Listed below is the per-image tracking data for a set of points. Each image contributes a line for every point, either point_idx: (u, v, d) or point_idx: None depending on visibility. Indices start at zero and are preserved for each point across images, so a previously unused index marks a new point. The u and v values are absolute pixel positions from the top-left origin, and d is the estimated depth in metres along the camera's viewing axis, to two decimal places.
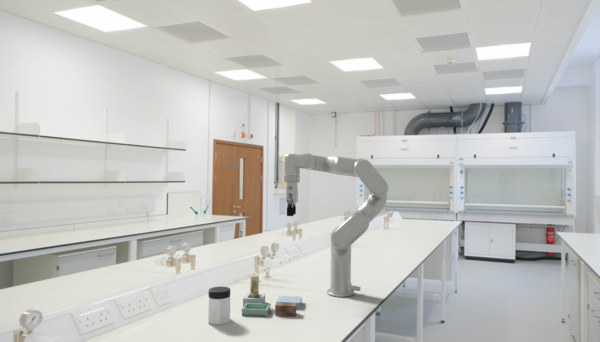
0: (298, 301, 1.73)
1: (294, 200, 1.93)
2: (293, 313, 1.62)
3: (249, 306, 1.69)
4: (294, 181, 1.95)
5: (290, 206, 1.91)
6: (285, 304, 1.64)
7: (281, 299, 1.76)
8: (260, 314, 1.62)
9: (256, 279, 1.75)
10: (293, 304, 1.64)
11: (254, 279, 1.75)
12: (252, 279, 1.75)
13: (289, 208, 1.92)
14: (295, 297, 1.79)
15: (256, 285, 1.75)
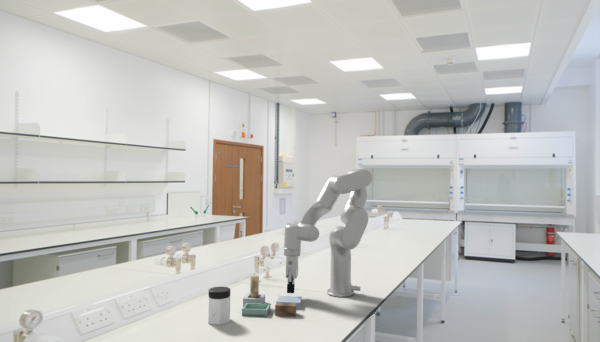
0: (298, 301, 1.73)
1: (294, 276, 1.82)
2: (293, 313, 1.62)
3: (249, 306, 1.69)
4: (294, 255, 1.84)
5: (291, 283, 1.85)
6: (285, 304, 1.64)
7: (281, 299, 1.76)
8: (260, 314, 1.62)
9: (256, 279, 1.75)
10: (293, 304, 1.64)
11: (254, 279, 1.75)
12: (252, 279, 1.75)
13: (290, 285, 1.85)
14: (295, 297, 1.79)
15: (256, 285, 1.75)
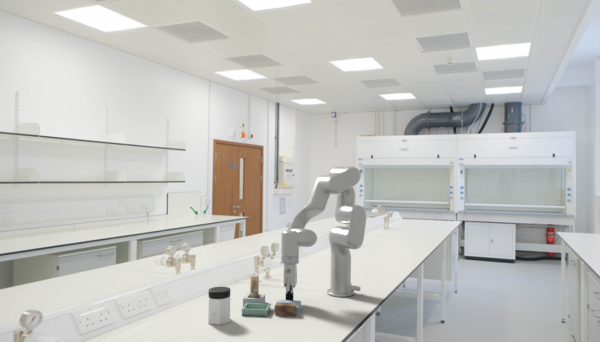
0: (297, 305, 1.68)
1: (293, 285, 1.72)
2: (293, 313, 1.62)
3: (249, 306, 1.69)
4: (293, 263, 1.74)
5: (289, 292, 1.75)
6: (285, 304, 1.64)
7: None
8: (260, 314, 1.62)
9: (256, 279, 1.75)
10: (293, 304, 1.64)
11: (254, 279, 1.75)
12: (252, 279, 1.75)
13: (288, 294, 1.75)
14: (294, 301, 1.74)
15: (256, 285, 1.75)
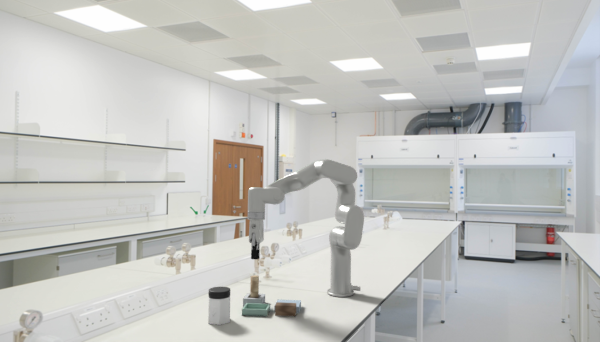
0: (297, 305, 1.68)
1: (258, 240, 1.72)
2: (293, 313, 1.62)
3: (249, 306, 1.69)
4: (258, 218, 1.74)
5: (255, 248, 1.75)
6: (285, 304, 1.64)
7: None
8: (260, 314, 1.62)
9: (256, 279, 1.75)
10: (293, 304, 1.64)
11: (254, 279, 1.75)
12: (252, 279, 1.75)
13: (254, 251, 1.75)
14: (294, 300, 1.74)
15: (256, 285, 1.75)
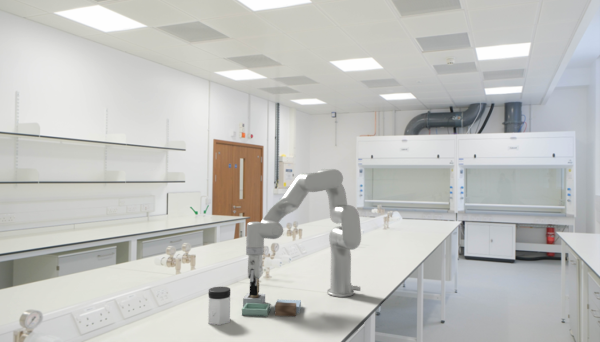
0: (297, 305, 1.68)
1: (256, 276, 1.72)
2: (293, 313, 1.62)
3: (249, 306, 1.69)
4: (257, 254, 1.73)
5: (253, 285, 1.73)
6: (285, 304, 1.64)
7: None
8: (260, 314, 1.62)
9: None
10: (293, 304, 1.64)
11: None
12: None
13: (252, 287, 1.74)
14: (293, 300, 1.74)
15: None
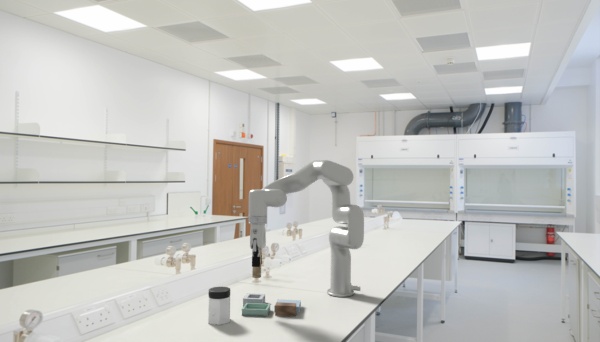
0: (297, 305, 1.68)
1: (259, 246, 1.61)
2: (293, 313, 1.62)
3: (249, 306, 1.69)
4: (260, 223, 1.63)
5: (256, 255, 1.63)
6: (285, 304, 1.64)
7: None
8: (260, 314, 1.62)
9: None
10: (293, 304, 1.64)
11: (257, 250, 1.65)
12: None
13: (255, 258, 1.63)
14: (293, 300, 1.74)
15: (259, 256, 1.65)
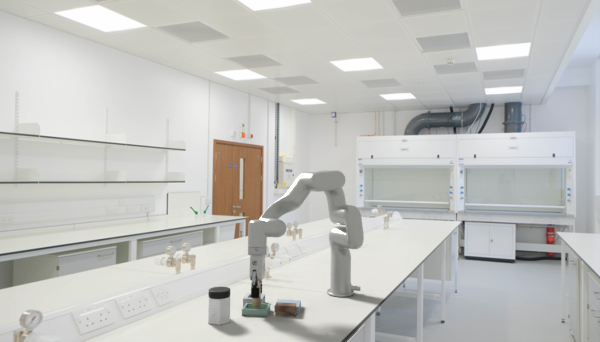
0: (297, 305, 1.68)
1: (259, 277, 1.61)
2: (293, 313, 1.62)
3: (249, 306, 1.69)
4: (259, 254, 1.63)
5: (255, 287, 1.61)
6: (285, 304, 1.64)
7: None
8: (260, 314, 1.62)
9: None
10: (293, 304, 1.64)
11: None
12: None
13: (254, 289, 1.62)
14: (293, 300, 1.74)
15: None
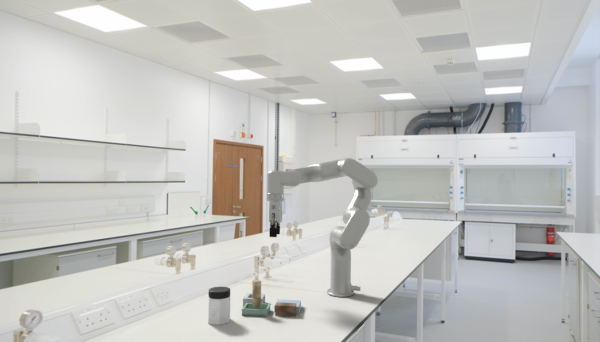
0: (297, 305, 1.68)
1: (277, 220, 1.81)
2: (293, 313, 1.62)
3: (249, 306, 1.69)
4: (277, 200, 1.83)
5: (273, 227, 1.80)
6: (285, 304, 1.64)
7: None
8: (260, 314, 1.62)
9: (258, 284, 1.65)
10: (293, 304, 1.64)
11: (256, 284, 1.64)
12: (254, 284, 1.64)
13: (272, 229, 1.81)
14: (293, 300, 1.74)
15: (258, 290, 1.65)
